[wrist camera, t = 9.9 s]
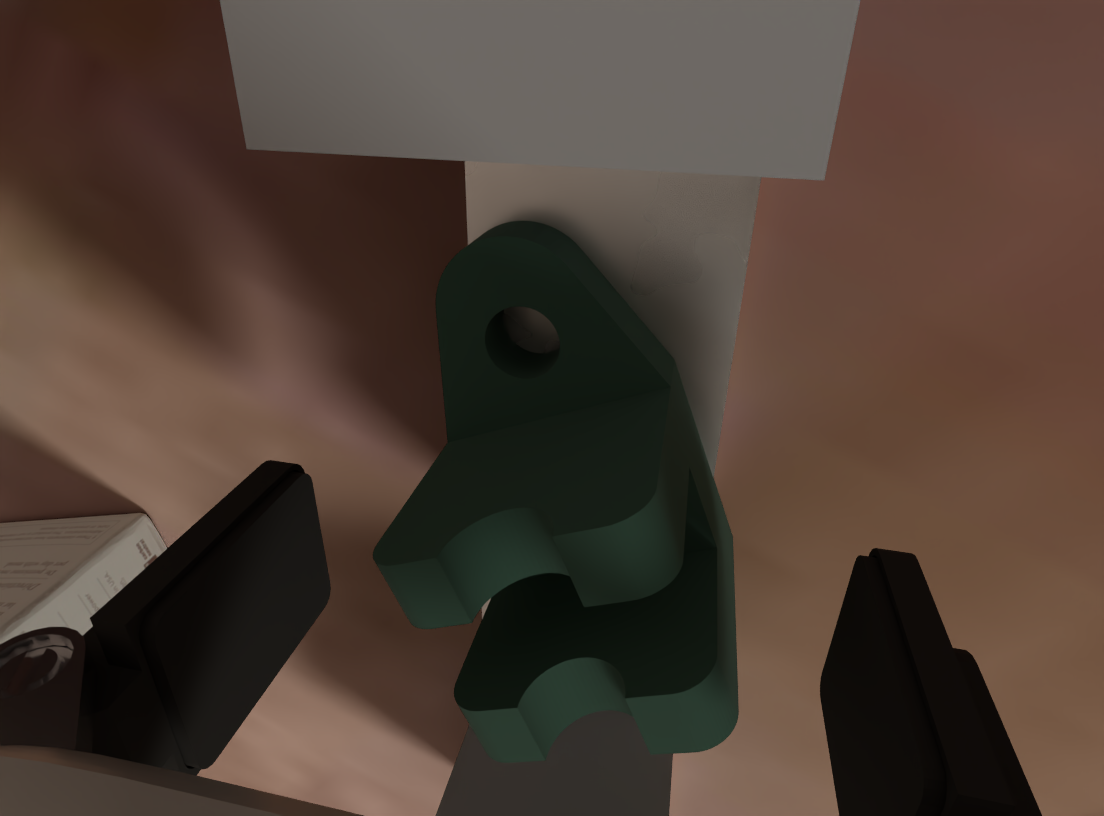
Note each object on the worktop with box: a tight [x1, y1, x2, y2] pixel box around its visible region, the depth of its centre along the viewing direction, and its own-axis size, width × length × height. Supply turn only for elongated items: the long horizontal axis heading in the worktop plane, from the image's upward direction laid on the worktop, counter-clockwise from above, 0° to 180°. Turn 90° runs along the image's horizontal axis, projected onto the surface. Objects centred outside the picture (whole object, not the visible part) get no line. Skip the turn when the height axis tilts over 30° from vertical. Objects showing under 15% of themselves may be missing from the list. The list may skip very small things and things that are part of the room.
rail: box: [465, 161, 761, 619], centre depth 14 cm, size 5×26×1 cm, turn 179°
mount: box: [373, 221, 739, 763], centre depth 12 cm, size 11×4×5 cm, turn 21°
